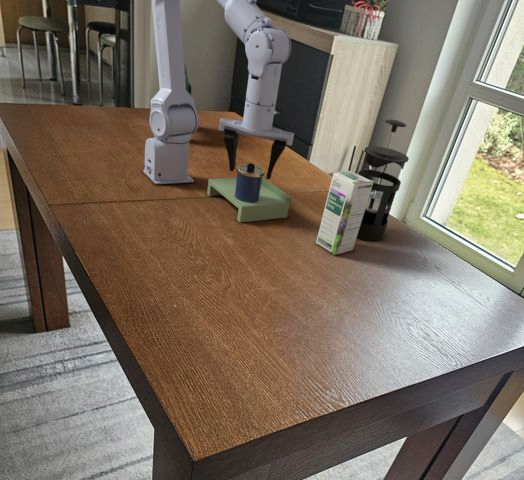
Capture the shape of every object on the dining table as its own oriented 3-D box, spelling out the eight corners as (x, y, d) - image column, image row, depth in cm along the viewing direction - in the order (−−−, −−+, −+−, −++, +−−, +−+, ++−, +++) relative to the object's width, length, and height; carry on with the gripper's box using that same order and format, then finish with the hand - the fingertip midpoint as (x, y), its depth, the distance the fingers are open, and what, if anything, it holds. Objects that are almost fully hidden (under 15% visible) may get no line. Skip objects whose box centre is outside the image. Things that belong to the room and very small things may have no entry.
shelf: (239, 222, 104) (242, 200, 102) (206, 194, 114) (208, 173, 111) (286, 217, 110) (291, 196, 108) (252, 191, 120) (255, 171, 117)
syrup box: (314, 243, 102) (331, 172, 93) (334, 238, 106) (352, 169, 97) (334, 255, 99) (354, 183, 90) (354, 250, 103) (375, 180, 94)
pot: (230, 199, 104) (234, 164, 100) (235, 190, 109) (240, 156, 105) (257, 205, 104) (263, 170, 100) (262, 195, 109) (267, 162, 104)
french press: (393, 243, 109) (431, 131, 95) (354, 242, 106) (388, 127, 92) (369, 219, 117) (401, 114, 103) (332, 218, 114) (360, 109, 100)
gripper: (300, 105, 98) (287, 175, 106) (227, 90, 99) (220, 160, 107) (296, 113, 93) (283, 185, 101) (219, 97, 93) (212, 170, 101)
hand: (250, 173), depth 103 cm, fingers open, 7 cm apart
